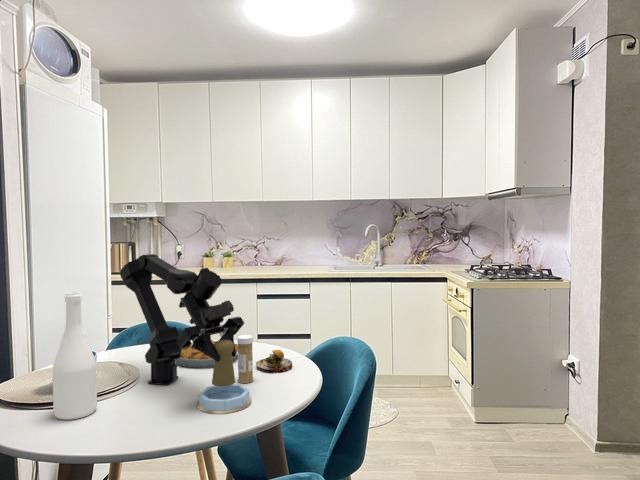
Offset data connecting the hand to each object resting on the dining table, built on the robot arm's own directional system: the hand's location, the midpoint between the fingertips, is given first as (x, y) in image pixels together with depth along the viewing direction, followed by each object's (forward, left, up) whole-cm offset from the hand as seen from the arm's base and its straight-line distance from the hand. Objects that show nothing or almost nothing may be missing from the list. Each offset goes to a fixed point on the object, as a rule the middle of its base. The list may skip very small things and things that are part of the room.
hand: (227, 358), depth 120 cm
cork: (-1, +1, -7) cm, 7 cm away
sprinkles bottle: (-1, +18, -12) cm, 21 cm away
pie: (-21, +37, -12) cm, 44 cm away
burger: (+4, +32, -13) cm, 34 cm away
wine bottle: (-35, -11, -12) cm, 39 cm away
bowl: (-1, +1, -12) cm, 12 cm away
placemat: (-1, +1, -12) cm, 12 cm away
